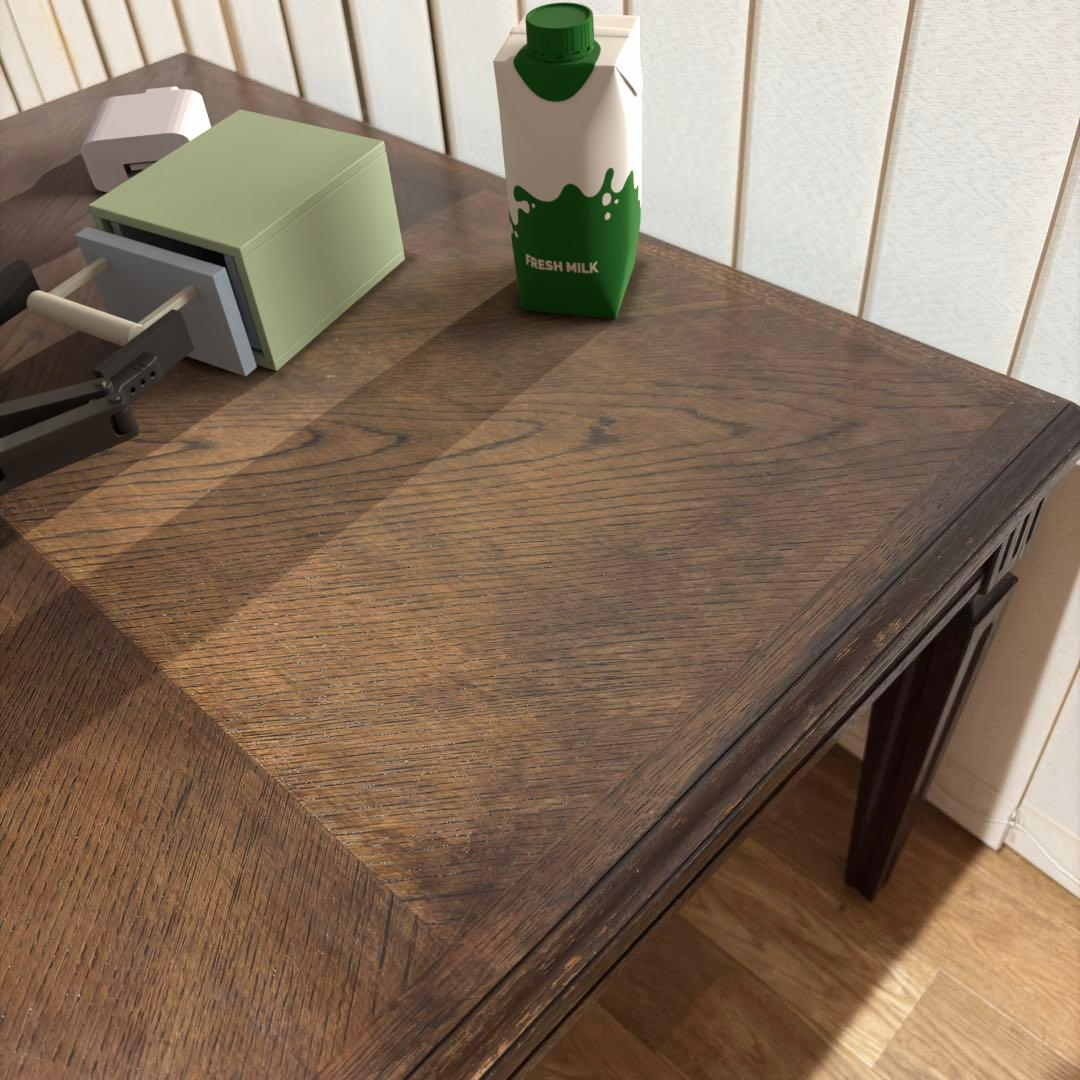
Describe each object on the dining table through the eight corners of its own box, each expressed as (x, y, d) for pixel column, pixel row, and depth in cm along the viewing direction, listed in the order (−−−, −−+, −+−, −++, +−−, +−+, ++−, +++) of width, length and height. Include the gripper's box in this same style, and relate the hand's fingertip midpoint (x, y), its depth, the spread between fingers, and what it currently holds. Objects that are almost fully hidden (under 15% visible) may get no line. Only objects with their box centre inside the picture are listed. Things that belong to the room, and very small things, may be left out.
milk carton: (506, 317, 76) (476, 28, 62) (537, 249, 82) (516, -28, 68) (626, 328, 75) (624, 33, 60) (649, 258, 80) (652, -25, 66)
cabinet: (276, 371, 74) (239, 248, 67) (135, 323, 79) (87, 205, 72) (405, 259, 83) (384, 140, 76) (270, 222, 88) (239, 108, 81)
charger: (221, 108, 104) (202, 183, 93) (126, 118, 104) (97, 194, 93) (207, 59, 100) (186, 131, 90) (109, 69, 100) (76, 142, 90)
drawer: (181, 432, 68) (140, 331, 63) (48, 380, 73) (-1, 282, 68) (372, 269, 80) (352, 171, 75) (247, 234, 85) (219, 140, 79)
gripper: (-77, 544, 48) (237, 298, 60) (-374, 393, 57) (-51, 208, 70) (-4, 647, 53) (270, 403, 65) (-287, 493, 63) (-2, 305, 75)
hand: (105, 302), depth 67 cm, fingers open, 13 cm apart
